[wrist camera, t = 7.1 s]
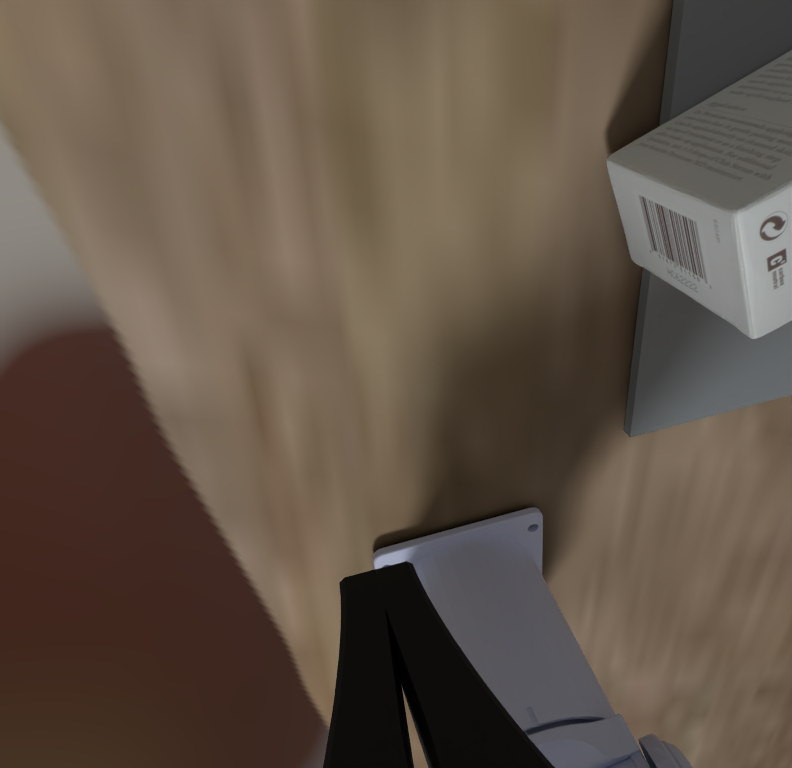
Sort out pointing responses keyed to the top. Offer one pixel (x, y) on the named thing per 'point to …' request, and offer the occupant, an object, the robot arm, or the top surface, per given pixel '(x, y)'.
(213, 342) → the top surface
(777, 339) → the mat
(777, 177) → the skincare box
